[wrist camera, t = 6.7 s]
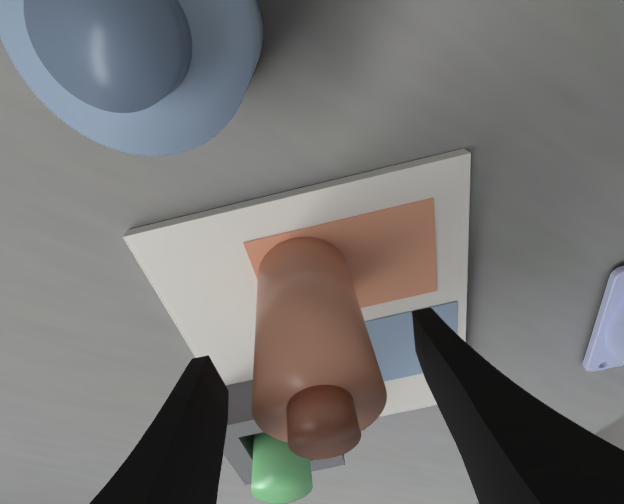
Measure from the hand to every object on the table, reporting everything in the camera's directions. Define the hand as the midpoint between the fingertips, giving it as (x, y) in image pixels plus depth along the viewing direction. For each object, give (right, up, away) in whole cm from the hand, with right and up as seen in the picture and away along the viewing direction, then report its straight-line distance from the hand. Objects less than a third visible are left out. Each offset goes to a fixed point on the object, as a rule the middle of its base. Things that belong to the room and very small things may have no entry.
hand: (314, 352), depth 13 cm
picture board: (+1, 0, +6) cm, 6 cm away
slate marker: (-4, +11, -1) cm, 11 cm away
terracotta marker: (0, +2, +3) cm, 4 cm away
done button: (-2, -6, +8) cm, 10 cm away
